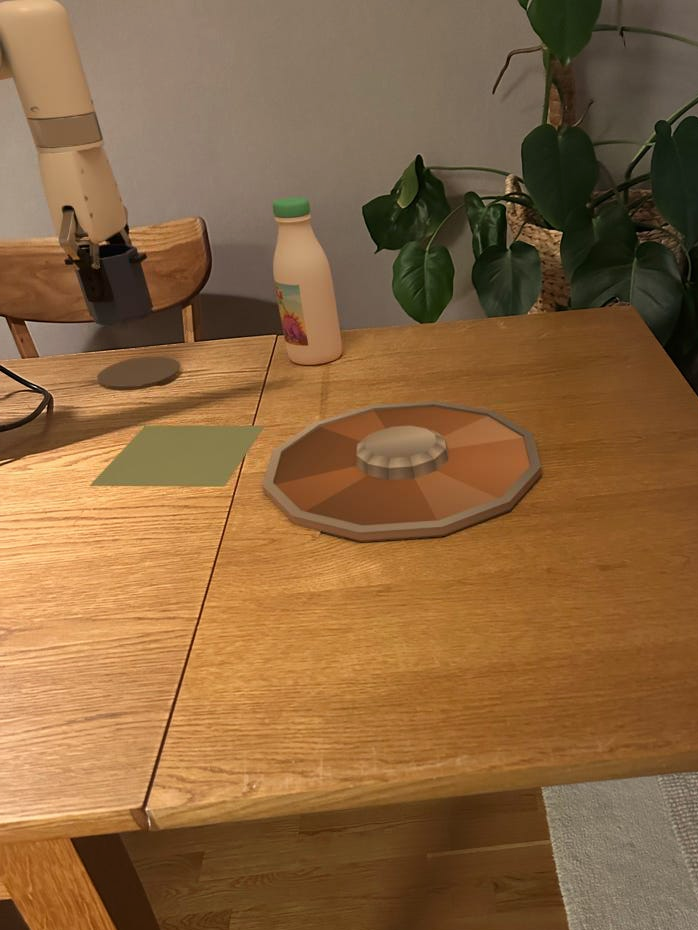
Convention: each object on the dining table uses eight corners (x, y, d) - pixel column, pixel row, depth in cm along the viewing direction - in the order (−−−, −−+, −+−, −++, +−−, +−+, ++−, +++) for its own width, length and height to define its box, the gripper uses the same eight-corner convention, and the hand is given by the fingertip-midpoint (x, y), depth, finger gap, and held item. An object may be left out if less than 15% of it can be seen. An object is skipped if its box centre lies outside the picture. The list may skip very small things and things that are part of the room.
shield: (316, 380, 102) (560, 390, 97) (320, 405, 104) (559, 416, 99) (206, 503, 80) (517, 525, 74) (215, 532, 82) (517, 555, 76)
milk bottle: (337, 343, 122) (315, 191, 110) (348, 361, 116) (325, 202, 104) (284, 351, 120) (255, 197, 108) (292, 369, 115) (263, 209, 102)
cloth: (90, 487, 90) (89, 485, 90) (145, 428, 102) (144, 425, 101) (225, 488, 89) (224, 486, 88) (265, 427, 100) (264, 425, 100)
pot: (75, 326, 108) (52, 260, 103) (100, 307, 113) (79, 244, 108) (147, 325, 107) (128, 258, 102) (169, 306, 112) (152, 242, 107)
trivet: (84, 392, 111) (82, 386, 111) (119, 362, 120) (117, 356, 119) (164, 392, 110) (162, 386, 110) (193, 361, 119) (191, 356, 118)
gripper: (71, 123, 104) (116, 272, 115) (-4, 147, 91) (55, 313, 102) (128, 120, 103) (168, 271, 114) (62, 144, 90) (114, 312, 101)
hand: (115, 290), depth 108 cm, fingers closed on pot, 7 cm apart
